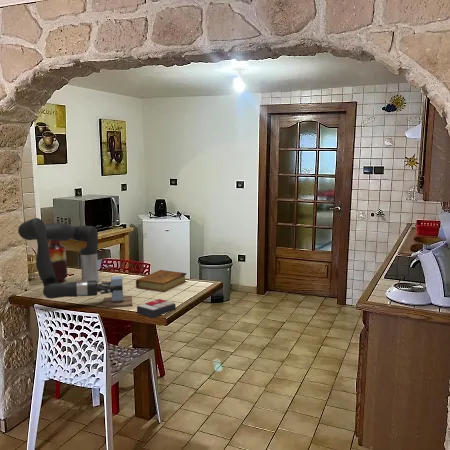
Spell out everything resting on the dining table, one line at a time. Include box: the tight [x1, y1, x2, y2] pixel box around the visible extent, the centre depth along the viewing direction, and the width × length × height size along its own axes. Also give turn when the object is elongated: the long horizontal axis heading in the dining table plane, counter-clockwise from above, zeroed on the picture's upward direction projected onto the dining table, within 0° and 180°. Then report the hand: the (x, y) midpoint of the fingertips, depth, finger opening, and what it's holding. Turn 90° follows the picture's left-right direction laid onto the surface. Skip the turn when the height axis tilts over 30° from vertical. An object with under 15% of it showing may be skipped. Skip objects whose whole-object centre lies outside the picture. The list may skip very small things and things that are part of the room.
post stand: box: [102, 295, 133, 309], centre depth 231 cm, size 14×14×8 cm
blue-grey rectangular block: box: [110, 275, 124, 301], centre depth 230 cm, size 5×5×11 cm
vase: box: [48, 240, 68, 284], centre depth 269 cm, size 11×11×26 cm
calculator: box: [136, 298, 176, 319], centre depth 218 cm, size 11×4×15 cm
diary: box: [135, 269, 188, 293], centre depth 262 cm, size 23×19×6 cm
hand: (122, 286), depth 230 cm, fingers closed on blue-grey rectangular block, 5 cm apart
